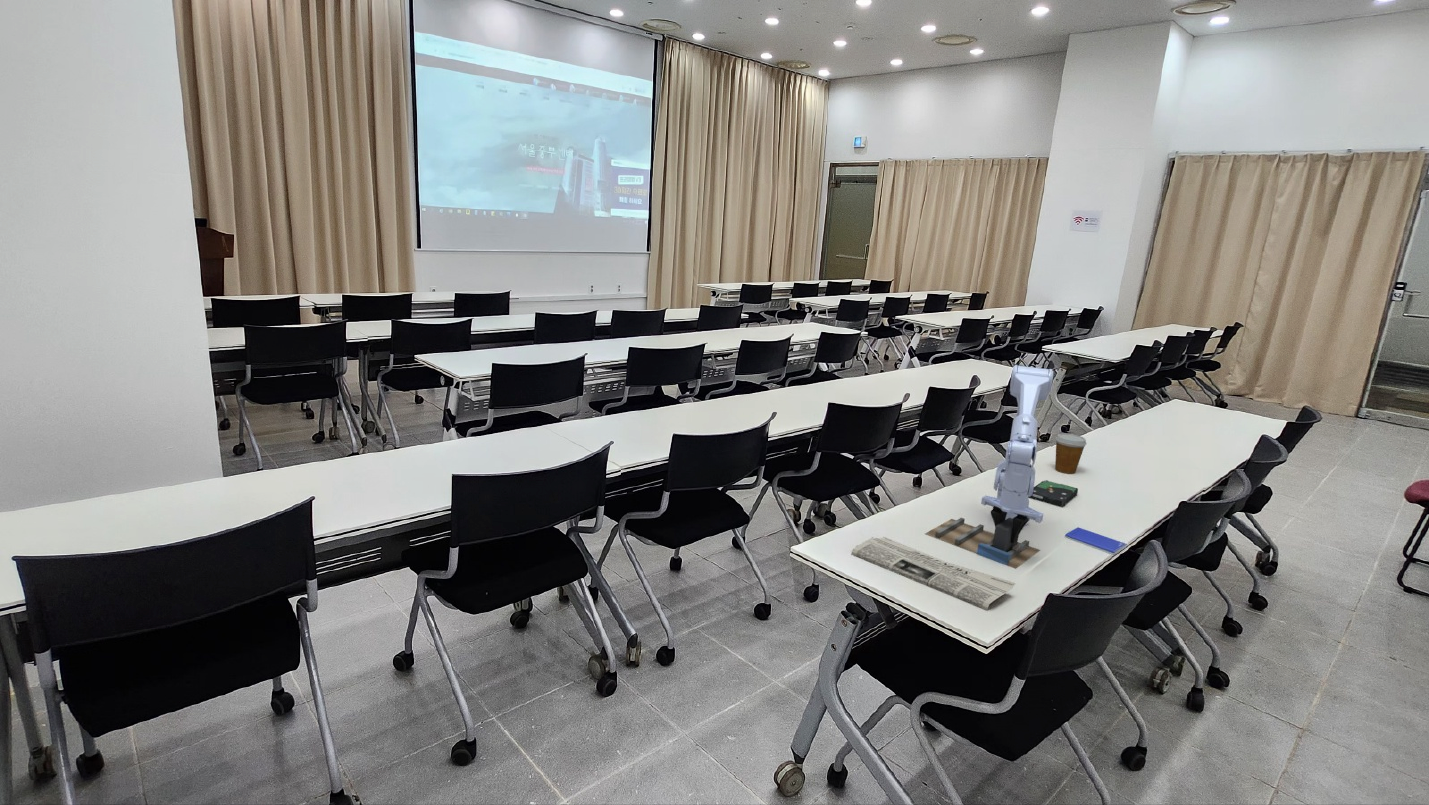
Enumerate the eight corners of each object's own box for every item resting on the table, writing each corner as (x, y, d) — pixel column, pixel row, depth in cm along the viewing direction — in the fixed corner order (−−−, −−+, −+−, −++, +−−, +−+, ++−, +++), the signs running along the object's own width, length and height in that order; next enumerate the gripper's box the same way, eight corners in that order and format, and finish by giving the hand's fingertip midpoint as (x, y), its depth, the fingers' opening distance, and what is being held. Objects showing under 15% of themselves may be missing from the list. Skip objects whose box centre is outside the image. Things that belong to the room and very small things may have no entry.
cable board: (951, 521, 193) (953, 510, 192) (1039, 553, 177) (1042, 541, 176) (923, 536, 183) (925, 525, 182) (1015, 571, 167) (1017, 559, 166)
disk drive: (1062, 509, 207) (1077, 496, 218) (1064, 501, 206) (1078, 487, 217) (1026, 499, 214) (1042, 486, 224) (1028, 491, 213) (1043, 478, 224)
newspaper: (851, 556, 171) (852, 543, 171) (877, 541, 180) (879, 528, 179) (993, 615, 148) (995, 600, 147) (1015, 594, 157) (1018, 580, 156)
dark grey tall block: (1005, 542, 179) (1009, 517, 177) (1016, 546, 177) (1021, 521, 175) (991, 551, 174) (995, 526, 172) (1003, 556, 172) (1007, 530, 170)
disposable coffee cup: (1057, 464, 246) (1063, 431, 243) (1085, 472, 239) (1092, 438, 235) (1044, 469, 240) (1050, 435, 237) (1072, 477, 233) (1079, 443, 230)
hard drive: (1127, 543, 183) (1078, 526, 192) (1114, 551, 178) (1065, 533, 187) (1126, 548, 183) (1077, 531, 192) (1113, 557, 178) (1064, 539, 187)
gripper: (979, 483, 174) (971, 533, 177) (1038, 501, 164) (1029, 554, 167) (991, 477, 178) (983, 526, 182) (1050, 494, 169) (1040, 546, 172)
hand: (1006, 539), depth 175 cm, fingers open, 3 cm apart
